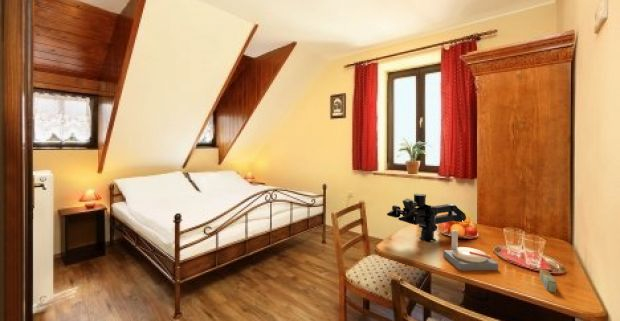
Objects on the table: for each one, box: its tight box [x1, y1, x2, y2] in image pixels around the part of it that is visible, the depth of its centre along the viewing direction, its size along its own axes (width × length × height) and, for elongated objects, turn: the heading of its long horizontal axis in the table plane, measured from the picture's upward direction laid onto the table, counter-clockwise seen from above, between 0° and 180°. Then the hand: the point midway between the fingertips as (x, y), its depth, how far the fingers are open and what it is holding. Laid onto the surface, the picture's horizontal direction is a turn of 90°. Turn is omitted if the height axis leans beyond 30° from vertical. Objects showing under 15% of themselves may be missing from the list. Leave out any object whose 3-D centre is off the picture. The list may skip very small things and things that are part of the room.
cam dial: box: [450, 229, 492, 263], centre depth 131 cm, size 16×14×11 cm
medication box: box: [538, 268, 558, 293], centre depth 112 cm, size 12×3×4 cm, turn 153°
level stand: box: [443, 249, 499, 271], centre depth 131 cm, size 17×15×4 cm
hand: (392, 216), depth 150 cm, fingers open, 9 cm apart
